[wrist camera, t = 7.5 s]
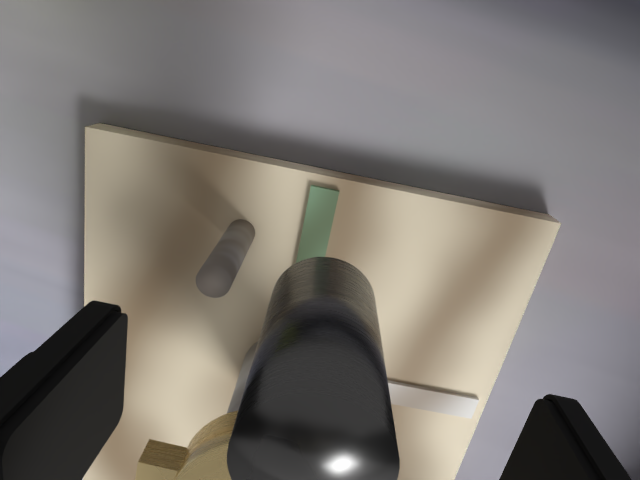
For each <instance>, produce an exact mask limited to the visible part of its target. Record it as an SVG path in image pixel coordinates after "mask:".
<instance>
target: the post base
mask: <svg viewBox="0 0 640 480" xmlns="http://www.w3.org/2000/svg"><path fill="white" fill-rule="evenodd" d="M560 226H561V223H560V222H559V221H557V220H556V219H555V218H553V217H552V216H550V215H549V214H544V213H539V212H534V211H529V210H524V209H519V208H515V207H510V206H505V205H500V204H495V203H490V202H485V201H480V200H475V199H470V198H465V197H461V196H456V195H451V194H446V193H441V192H436V191H431V190H426V189H421V188H416V187H411V186H406V185H402V184H397V183H392V182H387V181H382V180H377V179H372V178H367V177H362V176H357V175H352V174H348V173H343V172H338V171H333V170H328V169H323V168H318V167H313V166H308V165H303V164H298V163H294V162H289V161H284V160H279V159H274V158H269V157H264V156H259V155H254V154H249V153H244V152H240V151H235V150H230V149H225V148H220V147H215V146H210V145H205V144H200V143H195V142H190V141H186V140H181V139H176V138H171V137H166V136H161V135H156V134H151V133H146V132H141V131H136V130H131V129H127V128H122V127H117V126H112V125H107V124H102V123H98V124H94V125H90V126H86V127H85V230H84V307H85V306H86V305H87V304H88V303H89V302H91V301H94V300H95V301H100V302H105V303H110V304H115V305H119V306H120V308H121V313H126V314H127V316H128V329H127V348H126V368H125V387H124V407H123V413H122V416H121V419H120V421H119V423H118V425H117V427H116V428H115V430H114V431H113V433H112V434H111V436H110V437H109V439H108V440H107V442H106V443H105V445H104V446H103V448H102V450H101V451H100V453H99V454H98V456H97V457H96V459H95V460H94V462H93V463H92V465H91V466H90V468H89V469H88V471H87V472H86V474H85V475H84V477H83V480H135V477H136V471H137V464H138V461H139V459H140V457H141V455H142V453H143V451H144V449H145V447H146V445H147V443H148V441H149V439H152V440H156V441H160V442H165V443H169V444H173V445H178V446H182V447H186V448H187V447H188V445H189V443H190V441H191V440H192V438H193V437H194V436H195V434H196V433H197V432H198V431H199V430H200V429H201V428H202V427H203V426H205V425H206V424H208V423H209V422H210V421H212V420H214V419H216V418H218V417H220V416H222V415H225V414H227V413H230V412H233V411H237V410H239V406H240V403H241V399H242V396H243V392H244V389H245V385H246V382H247V378H248V375H249V372H250V368H251V365H252V361H253V358H254V354H255V351H256V347H257V344H258V340H259V337H260V333H261V330H262V326H263V323H264V319H265V316H266V313H267V309H268V306H269V302H270V299H271V295H272V292H273V289H274V286H275V284H276V282H277V280H278V279H279V277H280V276H281V275H282V274H283V272H284V271H285V270H287V269H288V268H289V267H290V266H292V265H294V264H295V263H297V262H299V261H302V260H305V259H308V258H313V257H332V258H337V259H340V260H343V261H346V262H348V263H350V264H351V265H353V266H355V267H356V268H357V269H359V270H360V271H361V272H362V273H363V274H364V275H365V276H366V278H367V279H368V281H369V282H370V284H371V286H372V288H373V291H374V295H375V301H376V308H377V315H378V321H379V328H380V334H381V341H382V347H383V354H384V360H385V367H386V373H387V380H388V386H389V393H390V399H391V406H392V413H393V419H394V426H395V432H396V439H397V445H398V452H399V458H400V469H399V475H398V479H397V480H454V479H455V476H456V474H457V472H458V469H459V467H460V465H461V462H462V460H463V457H464V455H465V453H466V450H467V448H468V445H469V443H470V441H471V438H472V436H473V433H474V431H475V429H476V426H477V424H478V421H479V419H480V417H481V414H482V412H483V410H484V407H485V405H486V402H487V400H488V398H489V395H490V393H491V390H492V388H493V386H494V383H495V381H496V378H497V376H498V374H499V371H500V369H501V367H502V364H503V362H504V359H505V357H506V355H507V352H508V350H509V347H510V345H511V343H512V340H513V338H514V335H515V333H516V331H517V328H518V326H519V324H520V321H521V319H522V316H523V314H524V312H525V309H526V307H527V304H528V302H529V300H530V297H531V295H532V292H533V290H534V288H535V285H536V283H537V280H538V278H539V276H540V273H541V271H542V269H543V266H544V264H545V261H546V259H547V257H548V254H549V252H550V249H551V247H552V245H553V242H554V240H555V237H556V235H557V233H558V230H559V228H560Z"/></svg>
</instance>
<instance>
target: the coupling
mask: <svg viewBox="0 0 640 480" xmlns="http://www.w3.org/2000/svg"><path fill="white" fill-rule="evenodd" d="M399 469H400V458H399V452H398V445H397V439H396V432H395V426H394V419H393V413H392V406H391V399H390V393H389V386H388V380H387V373H386V367H385V360H384V354H383V347H382V341H381V334H380V328H379V321H378V315H377V308H376V301H375V295H374V291H373V288H372V286H371V284H370V282H369V281H368V279H367V278H366V276H365V275H364V274H363V273H362V272H361V271H360V270H359V269H357V268H356V267H355V266H353V265H351V264H350V263H348V262H346V261H343V260H340V259H337V258H332V257H313V258H308V259H305V260H302V261H299V262H297V263H295V264H294V265H292V266H290V267H289V268H288V269H287V270H285V271H284V272H283V274H282V275H281V276H280V277H279V279H278V280H277V282H276V284H275V286H274V289H273V292H272V295H271V299H270V302H269V306H268V309H267V313H266V316H265V319H264V323H263V326H262V330H261V333H260V337H259V340H258V344H257V347H256V351H255V354H254V358H253V361H252V365H251V368H250V372H249V375H248V378H247V382H246V385H245V389H244V392H243V396H242V399H241V403H240V406H239V410H237V411H233V412H230V413H227V414H225V415H222V416H220V417H218V418H216V419H214V420H212V421H210V422H209V423H208V424H206V425H205V426H203V427H202V428H201V429H200V430H199V431H198V432H197V433H196V434H195V436H194V437H193V438H192V440H191V441H190V443H189V445H188V447H187V448H186V447H182V446H178V445H173V444H169V443H165V442H160V441H156V440H152V439H149V441H148V443H147V445H146V447H145V449H144V451H143V453H142V455H141V457H140V459H139V461H138V464H137V471H136V477H135V480H397V479H398V475H399Z"/></svg>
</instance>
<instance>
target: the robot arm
mask: <svg viewBox="0 0 640 480" xmlns="http://www.w3.org/2000/svg"><path fill="white" fill-rule="evenodd" d="M127 329H128V316H127V314H126V313H121V308H120V306H119V305H115V304H110V303H105V302H100V301H95V300H94V301H91V302H89V303H88V304H87V305H86V306H85V307H84V308H82V309H81V310H80V311H79V312H78V313H77V314H76V315H75V316H73V317H72V318H71V319H70V320H69V321H68V322H67V323H66V324H64V325H63V326H62V327H61V328H60V329H59V330H58V331H57V332H55V333H54V334H53V335H52V336H51V337H50V338H49V339H48V340H47V341H45V342H44V343H43V344H42V345H41V346H40V347H39V348H38V349H36V350H35V351H34V352H30V353H29V354H27V355H26V356H24V357H23V358H22V359H21V360H20V361H19V362H17V363H16V364H15V365H14V366H13V367H12V368H11V369H9V370H8V371H7V372H6V373H5V374H4V375H3V376H2V377H0V480H82V478H83V477H84V475H85V474H86V472H87V471H88V469H89V468H90V466H91V465H92V463H93V462H94V460H95V459H96V457H97V456H98V454H99V453H100V451H101V450H102V448H103V446H104V445H105V443H106V442H107V440H108V439H109V437H110V436H111V434H112V433H113V431H114V430H115V428H116V427H117V425H118V423H119V421H120V419H121V416H122V413H123V407H124V387H125V368H126V348H127ZM499 480H631V478H630V477H629V475H628V474H627V472H626V471H625V469H624V468H623V466H622V465H621V463H620V462H619V461H618V459H617V458H616V456H615V455H614V453H613V452H612V450H611V449H610V447H609V446H608V444H607V443H606V441H605V440H604V439H603V437H602V436H601V434H600V433H599V431H598V430H597V428H596V427H595V425H594V424H593V422H592V421H591V419H590V418H589V417H588V415H587V414H586V412H585V411H584V409H583V408H582V406H581V405H580V403H579V402H578V401H577V400H574V399H571V398H566V397H561V396H556V395H552V394H548V395H546V396H545V397H544V398H543V399H538V400H537V401H536V402H535V404H534V406H533V408H532V410H531V412H530V414H529V416H528V419H527V421H526V423H525V425H524V427H523V429H522V432H521V434H520V436H519V438H518V440H517V442H516V445H515V447H514V449H513V451H512V453H511V456H510V458H509V460H508V462H507V464H506V466H505V469H504V471H503V473H502V475H501V477H500V479H499Z"/></svg>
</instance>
